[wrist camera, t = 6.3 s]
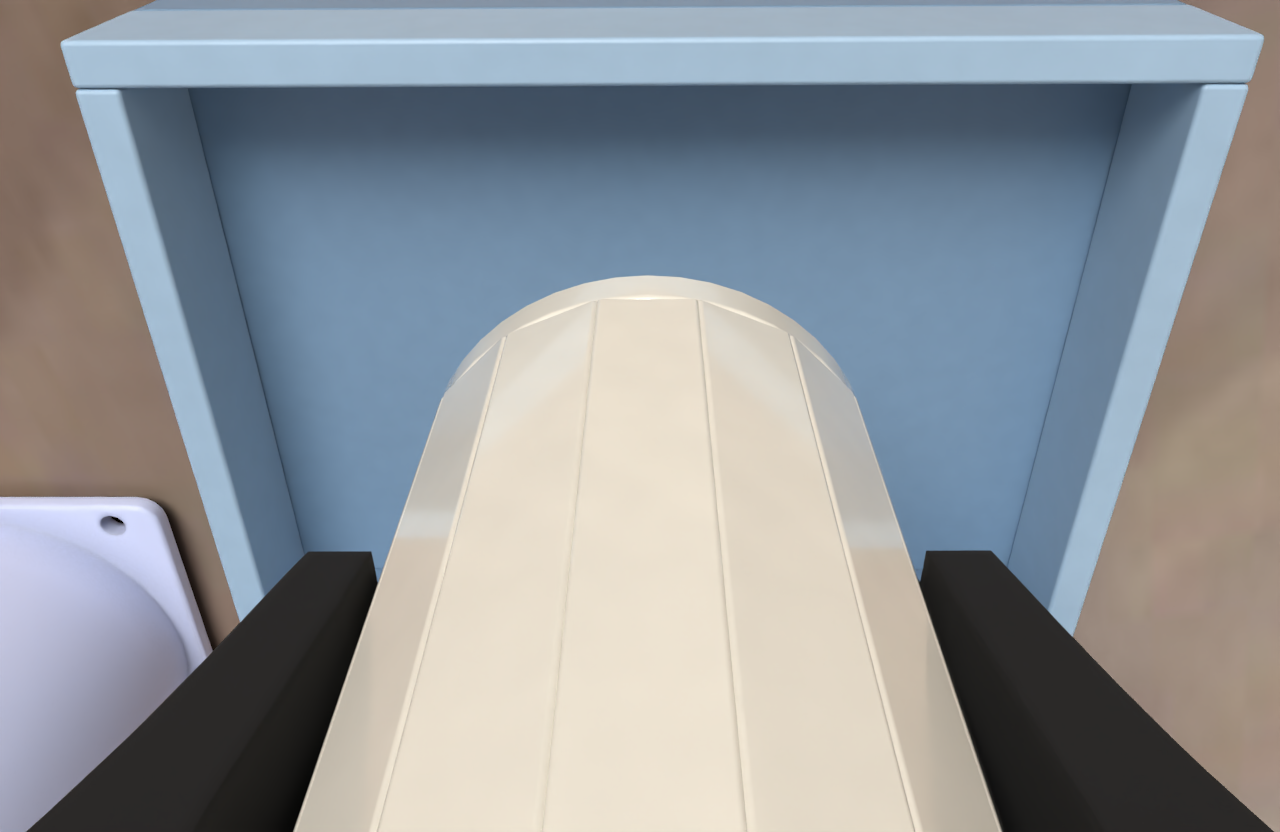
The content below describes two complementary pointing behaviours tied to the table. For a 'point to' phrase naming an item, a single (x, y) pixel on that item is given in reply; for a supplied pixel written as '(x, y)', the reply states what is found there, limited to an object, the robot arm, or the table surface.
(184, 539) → the table surface
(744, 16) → the light blue shelf
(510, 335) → the cup
